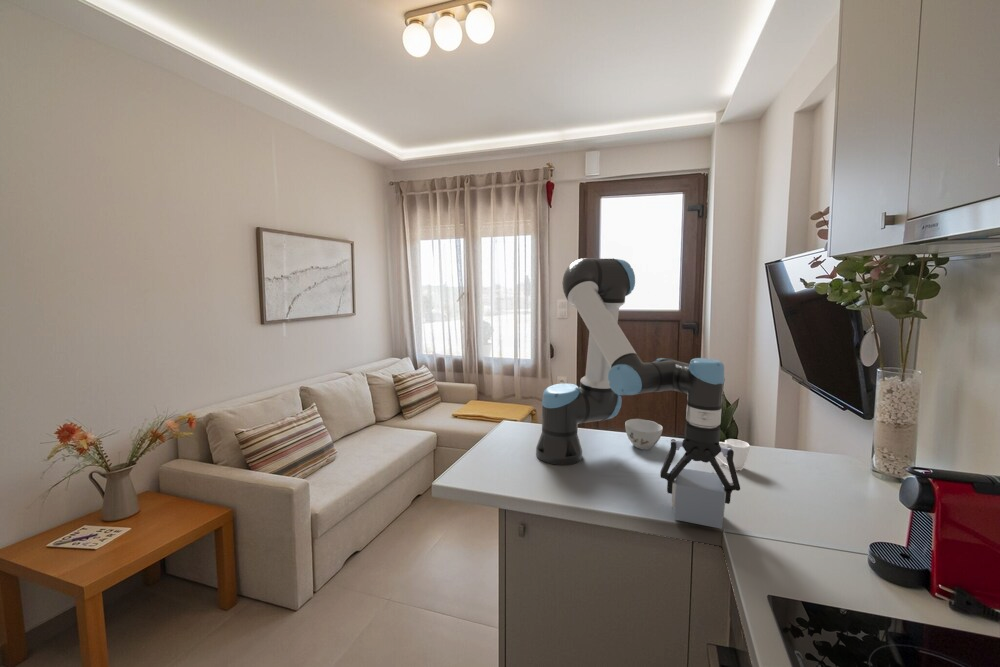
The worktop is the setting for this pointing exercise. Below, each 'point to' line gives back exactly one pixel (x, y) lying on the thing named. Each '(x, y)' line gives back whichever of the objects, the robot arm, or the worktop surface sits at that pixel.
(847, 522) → the worktop surface
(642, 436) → the teacup
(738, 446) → the cup
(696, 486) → the matte grey cuboid
